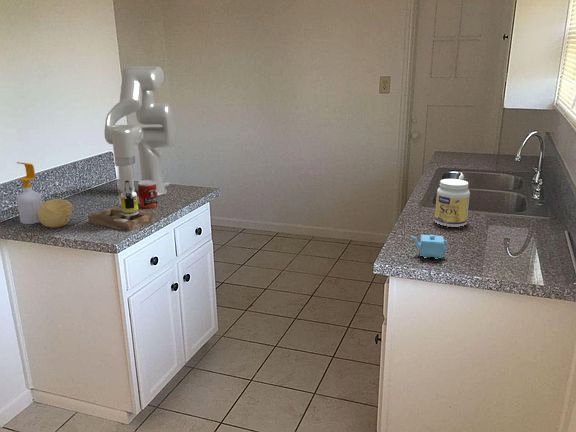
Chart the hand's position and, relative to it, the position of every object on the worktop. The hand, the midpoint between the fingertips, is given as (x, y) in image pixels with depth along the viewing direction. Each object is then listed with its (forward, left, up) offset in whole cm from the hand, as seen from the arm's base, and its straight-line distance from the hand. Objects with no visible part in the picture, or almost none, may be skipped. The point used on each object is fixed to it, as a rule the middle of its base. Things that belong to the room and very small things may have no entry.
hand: (129, 205), depth 208 cm
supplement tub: (-58, +112, -8) cm, 126 cm away
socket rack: (0, -5, -8) cm, 9 cm away
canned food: (-21, -10, -8) cm, 25 cm away
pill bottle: (0, 0, -4) cm, 4 cm away
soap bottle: (+16, -38, -8) cm, 42 cm away
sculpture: (+15, -25, -8) cm, 31 cm away
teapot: (-21, +113, -8) cm, 115 cm away
